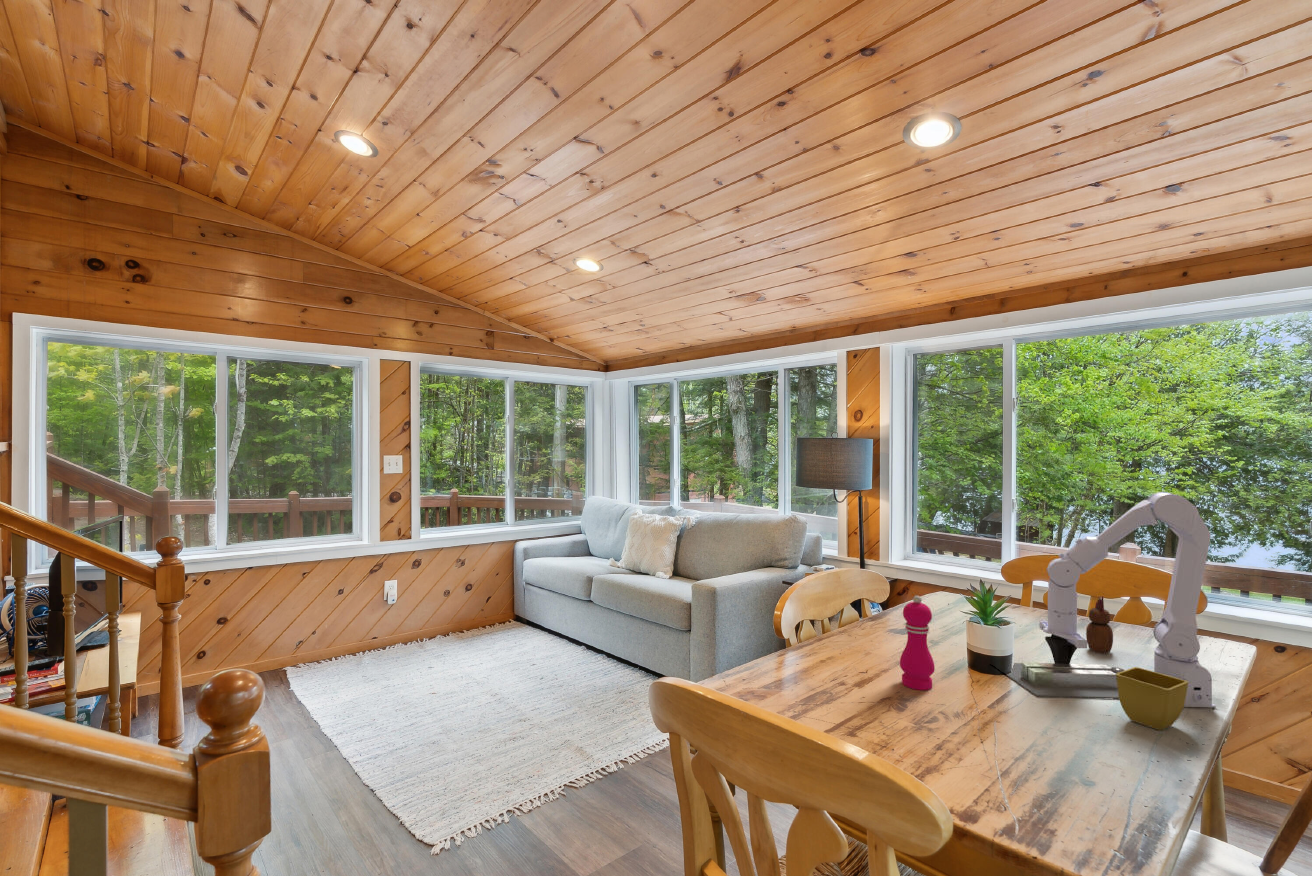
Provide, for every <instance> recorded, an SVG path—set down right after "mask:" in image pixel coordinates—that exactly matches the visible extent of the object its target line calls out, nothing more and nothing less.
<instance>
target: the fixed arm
mask: <svg viewBox="0 0 1312 876" xmlns="http://www.w3.org/2000/svg"><path fill="white" fill-rule="evenodd" d="M1028 682H1030V683H1031V684H1033V685H1034V686H1059V687H1095V688H1117V679H1116V674H1115V673H1113V672H1111V671H1106V670H1068V669H1041V668H1028Z"/></svg>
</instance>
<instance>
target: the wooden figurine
mask: <svg viewBox="0 0 1312 876" xmlns="http://www.w3.org/2000/svg"><path fill="white" fill-rule="evenodd" d="M1104 604H1105V603H1104V596H1103V595H1102V596H1099V598H1098V599H1097V601H1096V602H1095V607H1094V608H1091V609H1089V613H1088V618H1089V620H1090V622H1089V623H1088V624H1087V625H1086V630H1085V631H1086V632H1085V635H1086V636H1085V637H1086V638H1085V639H1086V640H1087V648H1088V649H1089V650H1091V651H1092V652H1094V653H1098V654H1109V653H1110V652H1111V651H1112V649H1113V644H1114V632H1113V628H1112V627H1111V625H1109V623H1110V622H1111V614H1110V612H1109V610H1106V609H1105V605H1104Z"/></svg>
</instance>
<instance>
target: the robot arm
mask: <svg viewBox="0 0 1312 876" xmlns="http://www.w3.org/2000/svg"><path fill="white" fill-rule="evenodd" d="M1157 520H1158V521H1159V522H1161V523H1163V524H1165V525H1166V526H1168V528H1169V529H1170V530H1171V531H1172V532H1173V533H1174V534H1175V535H1176V536H1177V538H1178V543H1177V547H1176V554H1175V557H1174V565H1173V568H1172V569H1173V570H1172V573H1171V580H1170V585H1169V591H1168V596H1167V600H1166V606H1165V609H1163V611H1162V613H1161V617H1160V620H1159V621H1158V622H1157V623H1156V624H1155V626H1154V628H1153V631H1152V632H1153V633H1152V634H1153V636H1154V639H1155V641H1156V642H1158V644H1157V647H1155V648H1154V651H1153V652H1154V657H1153V659H1154V660H1153V661H1154V664H1153V666H1154V667H1153V668H1154V671H1153V672H1157V673H1160V674H1164V675H1168V676H1171V677H1175V678H1178V679H1181V680H1184V681H1188V687H1187V693H1186V698H1185V704H1184V707H1183V708H1187V707H1188V708H1213V707H1214V708H1217V705H1216V704H1214V703H1213V697H1212V696H1213V692H1212V691H1213V686H1212V685H1213V680H1212V675H1211V673H1210V672H1209V670H1208V669H1207V668H1205V666H1202V664H1201V663H1200V662H1199V656H1198V654H1199V652H1200V650H1201V645H1200V642H1199V640H1198V636H1197V632H1198V624H1197V623H1198V622H1197V618H1196V617H1197V612H1198V611H1197V610H1198V605H1199V600H1200V595H1201V590H1202V585H1203V578H1204V573H1205V569H1206V564H1207V563H1206V562H1207V558H1208V554H1209V553H1208V552H1209V548H1210V541H1211V532H1210V530H1209V528H1208V527H1207V525H1206V523H1205V522H1204V520H1203V518H1202V516H1201V515H1200V513H1199V511H1198V508H1197V506H1195V504H1193V503H1192V502H1190V501H1189V500H1188V499H1187V498H1185V497H1184V496H1182V495H1179V494H1173V493H1171V492H1169V491H1168V492H1167V491H1158V492H1155V493H1153V494H1151V495H1150V496H1149V497H1148V498H1147V499H1144V500H1142V501H1139V502H1138V503H1137V504H1135V505H1134V506H1132V507H1130V508H1129V509H1128V510H1127V511H1126V512H1125V513H1123V514H1122V515H1121V516H1120V517H1119V518H1118V519H1116V520H1115V521H1113V523H1112V524H1110V525H1109V526H1108V527H1107V528H1105V529H1104V530H1103V531H1101V533H1099V534H1098V535H1097V536H1084V537H1083V539H1082V538H1080V537H1078V538H1077V539H1076V540H1075V543H1076V544H1075V545H1073V546H1072V547H1071V548H1069V549H1068V550H1067V551H1065V552H1064V553H1063V552H1060V553H1059V554H1058V557H1059V558H1054V559H1053V560H1051V561H1050V562H1049V563H1048V565H1047V568H1046V573H1047V574H1048V577H1049V580H1048V584H1047V586H1048V589H1047V620H1039V628H1038V629H1039V630H1041V631H1042V632H1043V633H1045V634H1051V635H1049V636H1047V635H1046V636H1045V637H1044V639H1045V641H1046V643H1047V645H1048V647H1049V649H1050V651H1051V654H1052V657H1053V662H1054V663H1057V664H1071V661H1072V658H1073V655H1074V653H1075V652H1076V650H1077V649H1088V643H1087V638H1084V637H1083V636H1082V634H1080V633H1079V632H1078V593H1077V583H1078V582H1079V580H1080V575H1081V574H1082V575H1083V574H1086V573H1087V572H1088V571H1090V570H1091V569H1093V568H1094V567H1096V566H1097V565H1098V564H1099V563H1101V562H1102V561H1104V560H1105V559H1106V558H1108V556H1109V548H1110V547H1112V546H1113V545H1114V544H1116V543H1118V542H1119V541H1120V540H1122V539H1124V538H1125V537H1126V536H1127V535H1129V534H1131V533H1133V532H1134V531H1136V530H1137V529H1138V528H1140V527H1143V526H1152V525H1158V524H1159V523H1158V521H1157ZM1214 708H1213V709H1214Z"/></svg>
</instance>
